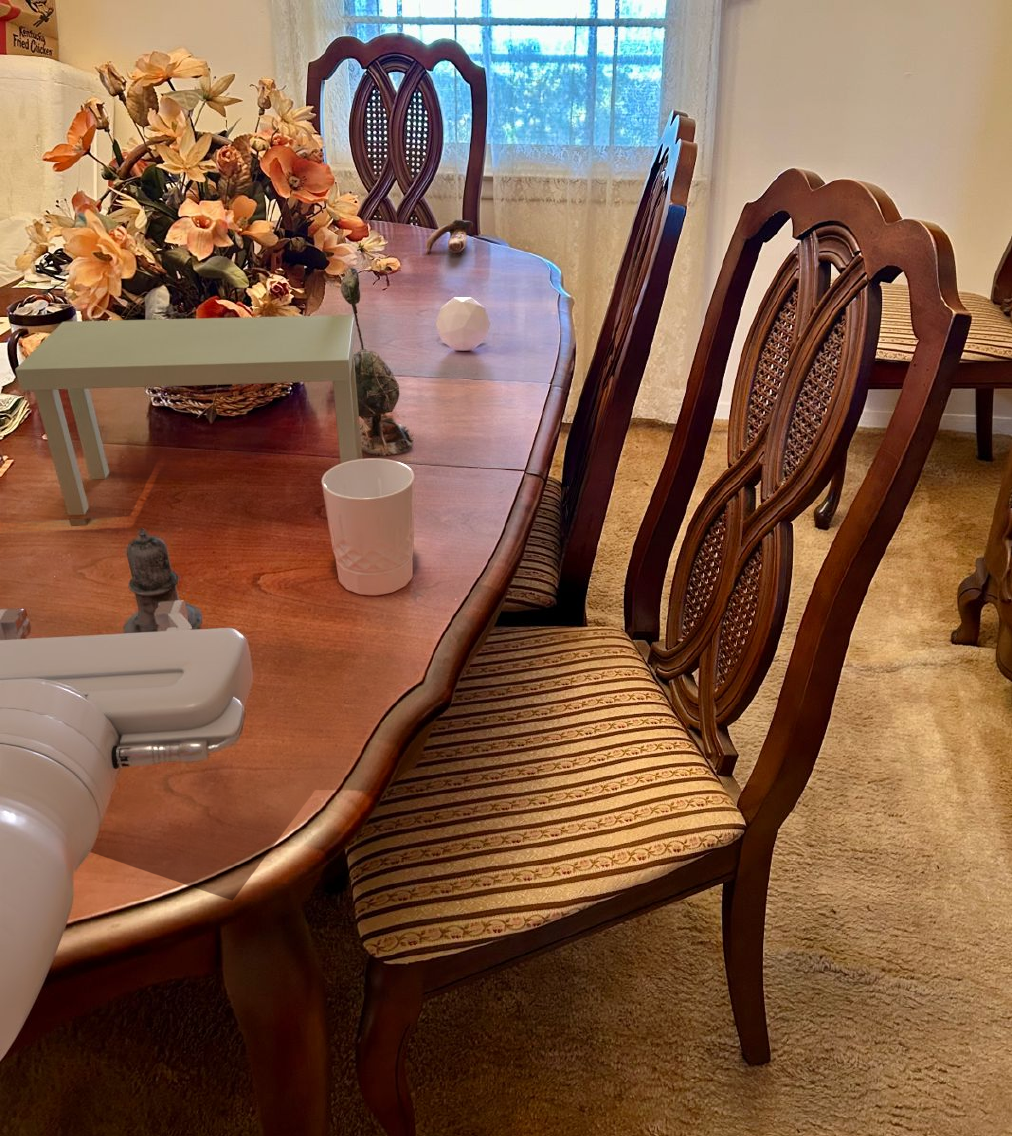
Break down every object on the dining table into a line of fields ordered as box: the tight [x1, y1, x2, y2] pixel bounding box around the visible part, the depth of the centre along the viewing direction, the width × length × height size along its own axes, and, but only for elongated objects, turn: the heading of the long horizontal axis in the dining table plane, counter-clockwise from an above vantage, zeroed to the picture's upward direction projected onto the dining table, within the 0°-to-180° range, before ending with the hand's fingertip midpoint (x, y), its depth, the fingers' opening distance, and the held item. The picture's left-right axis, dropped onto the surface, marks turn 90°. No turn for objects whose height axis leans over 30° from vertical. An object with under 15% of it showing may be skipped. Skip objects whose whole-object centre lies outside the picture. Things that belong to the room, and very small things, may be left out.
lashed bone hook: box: [426, 219, 474, 254], centre depth 193 cm, size 9×5×18 cm
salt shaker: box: [122, 527, 203, 634], centre depth 71 cm, size 6×6×12 cm
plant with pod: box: [340, 267, 414, 457], centre depth 104 cm, size 8×11×20 cm
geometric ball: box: [435, 296, 491, 352], centre depth 137 cm, size 8×8×8 cm
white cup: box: [321, 457, 415, 596], centre depth 82 cm, size 8×8×10 cm
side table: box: [14, 314, 363, 527], centre depth 93 cm, size 29×14×17 cm, turn 96°
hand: (96, 613), depth 58 cm, fingers open, 8 cm apart
